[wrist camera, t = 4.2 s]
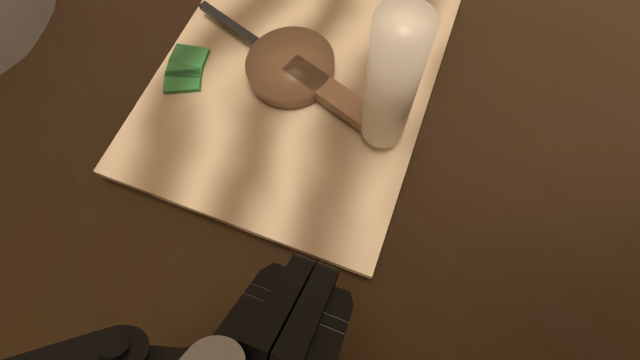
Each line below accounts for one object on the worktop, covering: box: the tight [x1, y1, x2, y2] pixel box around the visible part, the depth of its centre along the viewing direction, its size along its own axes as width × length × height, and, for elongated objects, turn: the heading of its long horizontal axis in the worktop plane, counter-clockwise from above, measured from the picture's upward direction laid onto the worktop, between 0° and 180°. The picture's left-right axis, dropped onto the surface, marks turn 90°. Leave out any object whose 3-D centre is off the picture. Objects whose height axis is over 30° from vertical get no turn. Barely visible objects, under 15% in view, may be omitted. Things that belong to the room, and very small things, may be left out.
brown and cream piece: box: [199, 0, 439, 148], centre depth 23 cm, size 21×7×11 cm, turn 49°
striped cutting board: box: [93, 0, 461, 279], centre depth 29 cm, size 22×26×2 cm
